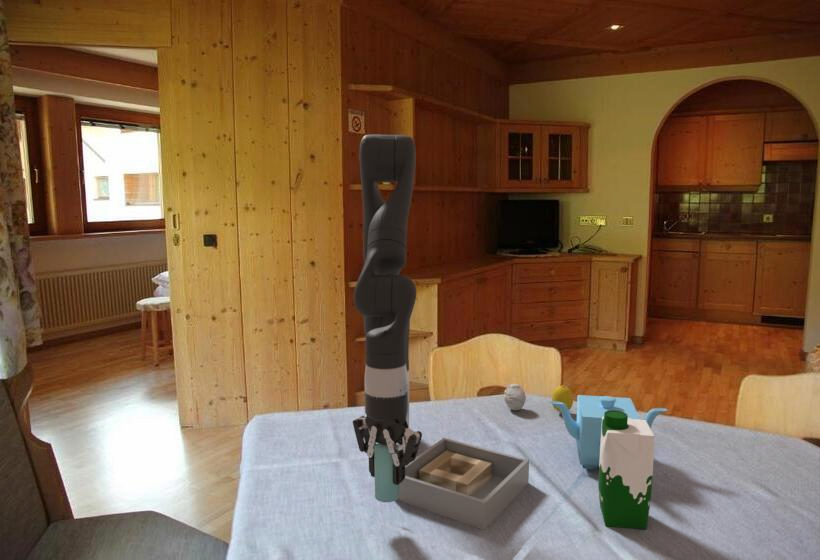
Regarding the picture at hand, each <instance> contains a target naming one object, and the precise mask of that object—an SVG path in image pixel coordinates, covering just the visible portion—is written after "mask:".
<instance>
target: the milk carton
mask: <svg viewBox="0 0 820 560" xmlns="http://www.w3.org/2000/svg"><path fill="white" fill-rule="evenodd" d="M654 457H655V434H654V432H653V431H652V429H650V427H649V425H648V423H647V422H646V420H644V419H641V418H640V419H631V418H628V415H627V414H626V413H624V412H621V411H616V410H609V411H606V412H605V413H604V417H602V427H601V442H600V461H599V466H598V483H597V484H598V487H597V488H598V499H599V507H600V510H601V516H602V518H603V522H604V525H605V527H615V528H623V529H624V528H626V529H636V530H637V529H638V530H647V528H648V520H649V514H650V507H651V501H652V490H653V489H652V488H653V473H654V459H655V458H654Z"/></svg>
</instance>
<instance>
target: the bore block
mask: <svg viewBox="0 0 820 560" xmlns="http://www.w3.org/2000/svg"><path fill="white" fill-rule="evenodd" d="M450 471H453V472H456V473H460V474H463V476H460V475H456V474H453V473H449V472H450ZM491 477H492V463H490V462H487V461H483V460H479V459H476V458H472V457H468V456H465V455H461V454H457V453H454V452H450V451H445V452H443V453H442V454H441V455H439V456H438V457H437V458H435V459H434V460H432V461H431V462H430V463H428V464H427V465H426V466H424V467H423V468H421V469H420V470H419V480H421V481H424V482H427V483H430V484H434V485H437V486H440V487H443V488H446V489H450V490H453V491H456V492H459V493H462V494H466V495H469V496H471V495H472V494H473V493H474V492H475V491H477V490H478V489H479V488H480V487H481V486H482V485H483V484H484V483H485V482H486V481H487V480H489V479H490V478H491Z"/></svg>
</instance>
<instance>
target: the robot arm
mask: <svg viewBox="0 0 820 560" xmlns="http://www.w3.org/2000/svg"><path fill="white" fill-rule="evenodd" d="M358 152H359V158H358V159H359V160H358V161H359V169H360V170H359V172H360V181H361V182H360V184H361V185H360V186H361V196H362V206H363V209H362V210H363V221H362V222H363V226H362V227H363V230H362V234H363V237H362V242H363V244H362V245H363V246H362V247H363V248H362V249H363V251H362V252H363V255H362V256H363V267H362V269H361V272H360V274H359V277H358V279H357V281H356V284H355V287H354V291H353V305H354V307H355V309H356V311H357V312H358V313H359V314H360V315H361V316H364V317H363V328H364V329H363V331H364V335H365V345H364V346H365V348H364V349H365V370H364V413H365V415H366V416H365V415H361V416H359V417H358V418H356V419H354V420H352V426H353V429H354V433H355V438H356V442H357V445H358V449H359V452H361V453H363V452H364V453H365V454H366V456H367V457H368V472H369V473H370V477H372V478H375V466H374V445H375V444H376V442H377V443H384V444H385V445H387V446H388V450H389V453H390V454H392V458H393V462H394V465H393V484H395V485H398V484H400V483H401V482H402V481H403V480H404V479H405V466H407V465H408V464H409V463H410V462H412V461H414V460H415V458H416V457H417V456H418V451H419V448H420V445H421V440H422V437H423V433H422V432H421V431H419V430H417V431H414V430H413V429H411V428H410V357H409V355H410V354H409V348H410V347H409V346H410V330H411V329H410V327H411V317H412V314H413V310H414V307H415V304H416V299H417V288H416V284H415V282H414V281H413V279H412V278H410V276H407V275H402V274H400V273H401V272H402V269H403V268H404V267H405V265H406V262H407V247H408V246H407V243H408V242H407V241H408V240H407V239H408V237H407V236H408V234H407V233H408V221H409V213H410V208H411V204H412V198H413V190H414V182H415V174H416V164H417V163H416V162H417V157H416V156H417V153H416V145H415V140H414V139H413V138H412V137H411V136H409V135H405V134H376V133H375V134H373V133H371V134H365V135H364V136H363V137H362V139H361V140H360V145H359V151H358ZM378 183H397V184H396V186H395V188H394V190H393V191H392V193H391V194H390V196H389V197H388V198H387V199H386V200H384V198H383V196H382V193H381V190H380V188H379V185H378ZM395 444H398V445H397V446H396V447H395Z"/></svg>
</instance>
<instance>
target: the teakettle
mask: <svg viewBox="0 0 820 560" xmlns="http://www.w3.org/2000/svg"><path fill="white" fill-rule="evenodd" d="M576 398H577V401H576V420H574V419H573V417H572V415H571V412H570V410H569V409H568V407H567V406H566V405H565V404H564V403H562V402H557V401H552V400H551V401H549V403H550V404H552V406H553V405H555V406H557V407H558V408H559V410H560V411H561V413H562V414H561V413H560V414H561V415H562V419H563V421H564V426H565V428H566V431H567V432H568V433H569V435H570V436H571V437H572V438H574V439H575V441H576V447H577V454H578V460H579V465H581V466H582V467H584V469H587V470H597V468H598V467H599V461H600V442H601V427H602V417H604V413H605V412H606V411H609V410H616V411H621V412H624V413H626V414H627V415H628V418H631V419H640V420H641V418H640V416H639V414H638V412H637V410H636V409H637V408H636V406H635V404H634V403H633V400H632V399H631V398H630V397H617V396H616V397H615V396H609V395H603V396H601V395H599V396H598V395H585V394H584V395H583V394H578V395H577V397H576ZM667 411H668V409H667V408H662V407H656V408H651V409H650V410H648V412H647V413H646V415H645V416H644V419H643V420H646V422H647V423H648V425H649V427H650V429H651V428H652V425H653V423H654V421H655V420H656V418H657V417H658V416H659V415H660V414H662V413H665V412H667ZM651 430H652V429H651Z"/></svg>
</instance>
